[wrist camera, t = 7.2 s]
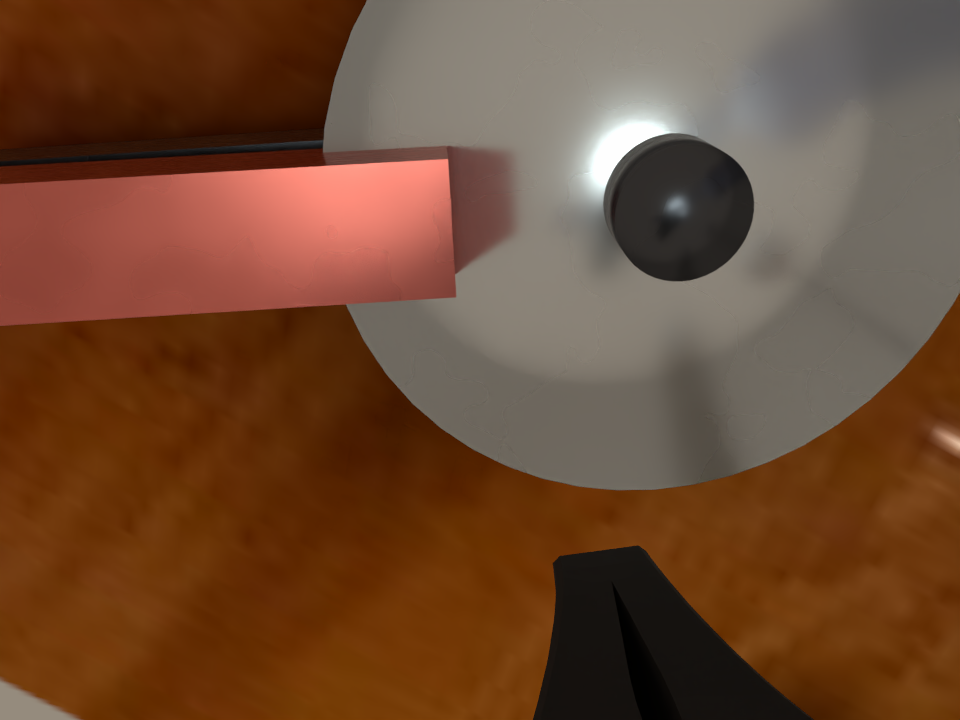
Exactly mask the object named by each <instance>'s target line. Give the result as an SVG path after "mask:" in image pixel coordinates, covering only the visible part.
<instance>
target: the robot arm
mask: <svg viewBox="0 0 960 720" xmlns="http://www.w3.org/2000/svg"><path fill="white" fill-rule="evenodd" d="M553 568H554V577H555V587H556V604H555V616H554V624H553V631H552V637H551V644H550V650H549V656H548V661H547V666H546V670H545V674H544V679H543V683H542V687H541V691H540V695H539V700H538V704H537V707H536V711H535V714H534V718H533V720H814V719H812V718H811V717H810V716H808V715H807V714H806V713H805V712H803V711H802V710H801V709H800V708H798V707H797V706H796V705H795V704H793V703H792V702H791V701H790V700H788V699H787V698H786V697H785V696H784V695H782V694H781V693H780V692H779V691H778V690H777V689H775V688H774V687H773V686H772V685H771V684H770V683H769V682H767V681H766V680H765V679H764V678H763V677H762V676H761V675H760V674H758V673H757V672H756V671H755V670H754V669H753V668H752V667H751V666H750V665H749V664H748V663H747V662H745V661H744V660H743V659H742V658H741V657H740V656H739V655H738V654H737V653H736V652H735V651H734V650H733V649H732V648H731V647H730V646H729V645H728V644H727V643H726V642H725V641H724V640H723V639H722V638H721V637H720V636H719V635H718V634H717V633H716V632H715V631H714V630H713V629H712V628H711V627H710V626H709V625H708V624H707V623H706V622H705V621H704V620H703V619H702V618H701V616H700V615H699V614H698V613H697V612H696V611H695V610H694V609H693V608H692V607H691V606H690V605H689V603H688V602H687V601H686V600H685V599H684V598H683V597H682V595H681V594H680V593H679V592H678V591H677V590H676V589H675V587H674V586H673V585H672V584H671V583H670V581H669V580H668V579H667V578H666V577H665V575H664V574H663V573H662V572H661V570H660V569H659V568H658V567H657V565H656V564H655V563H654V561H653V560H652V559H651V558H650V556H649V555H648V553H647V552H646V551H645V550H644V549H642V548H641V547H640V546H632V547H624V548H617V549H609V550H602V551H594V552H587V553H579V554H572V555H564V556H559V557H558V559H557V560H556V561H555V562H554V563H553Z"/></svg>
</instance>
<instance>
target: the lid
mask: <svg viewBox="0 0 960 720" xmlns="http://www.w3.org/2000/svg"><path fill="white" fill-rule="evenodd" d="M959 292H960V0H367V2H366V4H365V6H364V7H363V9H362V11H361V13H360V15H359V17H358V19H357V21H356V23H355V25H354V27H353V29H352V31H351V34H350V37H349V40H348V42H347V45H346V48H345V51H344V54H343V57H342V60H341V62H340V65H339V68H338V71H337V74H336V77H335V80H334V84H333V89H332V94H331V99H330V103H329V108H328V113H327V118H326V123H325V128H324V141H323V149H306V150H288V151H270V152H252V153H234V154H216V155H198V156H180V157H162V158H144V159H126V160H108V161H91V162H73V163H55V164H37V165H19V166H1V167H0V326H4V325H20V324H36V323H52V322H68V321H84V320H100V319H117V318H133V317H149V316H165V315H181V314H197V313H213V312H229V311H245V310H262V309H278V308H294V307H310V306H326V305H342V304H346V306H347V308H348V310H349V312H350V314H351V316H352V318H353V320H354V322H355V324H356V326H357V328H358V330H359V332H360V334H361V336H362V338H363V340H364V342H365V343H366V345H367V346H368V348H369V349H370V351H371V352H372V354H373V355H374V357H375V358H376V360H377V361H378V362H379V364H380V365H381V367H382V368H383V370H384V371H385V373H386V374H387V375H388V377H389V378H390V379H391V380H392V381H393V382H394V383H395V384H396V386H397V387H398V388H399V389H400V390H401V391H402V392H403V393H404V395H405V396H406V397H407V398H408V399H409V400H410V401H411V402H412V404H414V405H415V406H416V407H417V408H418V409H419V410H421V411H422V412H423V413H424V414H425V415H426V416H427V417H429V418H430V419H431V420H432V421H433V422H434V423H436V424H437V425H438V426H439V427H440V428H441V429H443V430H444V431H446V432H447V433H449V434H450V435H452V436H453V437H455V438H456V439H458V440H459V441H461V442H462V443H464V444H465V445H467V446H469V447H470V448H472V449H473V450H475V451H477V452H479V453H481V454H483V455H485V456H487V457H489V458H491V459H493V460H495V461H497V462H499V463H501V464H503V465H505V466H508V467H511V468H514V469H516V470H519V471H522V472H525V473H528V474H531V475H534V476H537V477H539V478H542V479H547V480H552V481H556V482H561V483H565V484H570V485H574V486H580V487H590V488H600V489H610V490H654V489H662V488H670V487H678V486H686V485H693V484H697V483H702V482H706V481H710V480H714V479H718V478H723V477H727V476H731V475H733V474H736V473H739V472H742V471H745V470H748V469H750V468H753V467H756V466H759V465H762V464H765V463H767V462H769V461H771V460H774V459H776V458H778V457H780V456H782V455H784V454H786V453H788V452H790V451H792V450H795V449H797V448H799V447H801V446H803V445H805V444H806V443H808V442H810V441H811V440H813V439H814V438H816V437H818V436H819V435H821V434H823V433H824V432H826V431H828V430H829V429H831V428H833V427H834V426H836V425H837V424H839V423H840V422H841V421H843V420H844V419H845V418H847V417H848V416H849V415H851V414H852V413H853V412H855V411H856V410H857V409H859V408H860V407H861V406H862V405H864V404H865V403H866V402H868V401H869V400H870V399H871V398H872V397H874V396H875V395H876V394H877V393H878V392H879V391H880V390H881V389H882V388H883V387H884V386H885V385H886V384H887V383H889V382H890V381H891V380H892V379H893V378H894V377H895V376H896V375H897V374H898V373H899V372H900V371H901V370H902V369H903V368H904V367H905V366H906V364H907V363H908V362H909V361H910V360H911V359H912V357H913V356H914V355H915V354H916V353H917V352H918V351H919V349H920V348H921V347H922V346H923V345H924V344H925V342H926V341H927V340H928V339H929V338H930V336H931V335H932V333H933V332H934V330H935V329H936V328H937V326H938V325H939V323H940V322H941V320H942V319H943V318H944V316H945V315H946V313H947V312H948V310H949V309H950V308H951V306H952V305H953V303H954V301H955V300H956V298H957V296H958V294H959Z"/></svg>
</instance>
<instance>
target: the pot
mask: <svg viewBox="0 0 960 720" xmlns="http://www.w3.org/2000/svg"><path fill="white" fill-rule="evenodd" d="M323 141H324V128H321V129H306V130H291V131H276V132H260V133H245V134H230V135H215V136H200V137H184V138H169V139H154V140H139V141H124V142H108V143H93V144H78V145H63V146H48V147H32V148H17V149H2V150H0V167H1V166H19V165H37V164H55V163H73V162H91V161H108V160H126V159H144V158H162V157H180V156H198V155H216V154H234V153H252V152H270V151H288V150H306V149H323Z"/></svg>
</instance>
